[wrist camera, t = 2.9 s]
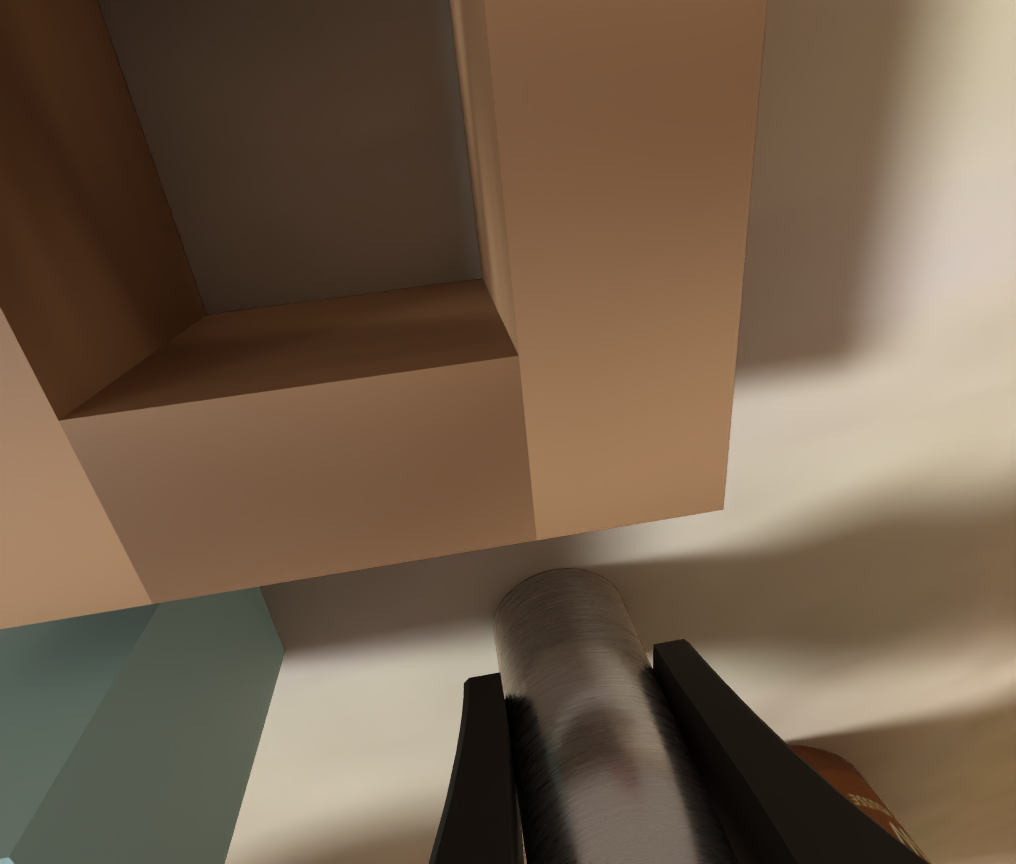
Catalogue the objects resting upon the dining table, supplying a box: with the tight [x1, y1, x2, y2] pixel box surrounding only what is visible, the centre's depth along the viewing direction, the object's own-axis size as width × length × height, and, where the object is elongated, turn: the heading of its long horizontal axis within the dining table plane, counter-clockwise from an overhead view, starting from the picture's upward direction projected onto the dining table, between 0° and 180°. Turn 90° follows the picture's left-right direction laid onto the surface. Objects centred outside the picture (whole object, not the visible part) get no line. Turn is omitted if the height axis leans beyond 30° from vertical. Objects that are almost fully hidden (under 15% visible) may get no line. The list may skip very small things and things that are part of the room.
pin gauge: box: [493, 569, 739, 864], centre depth 10 cm, size 3×3×7 cm
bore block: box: [0, 0, 767, 629], centre depth 6 cm, size 9×9×4 cm
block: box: [0, 587, 285, 864], centre depth 8 cm, size 4×4×6 cm
